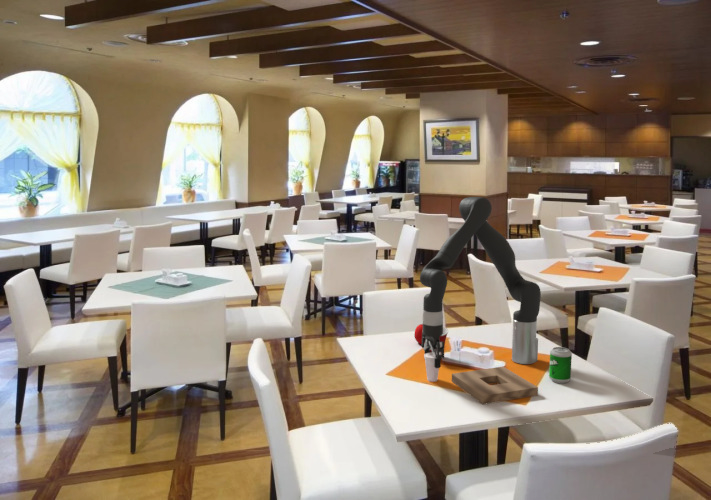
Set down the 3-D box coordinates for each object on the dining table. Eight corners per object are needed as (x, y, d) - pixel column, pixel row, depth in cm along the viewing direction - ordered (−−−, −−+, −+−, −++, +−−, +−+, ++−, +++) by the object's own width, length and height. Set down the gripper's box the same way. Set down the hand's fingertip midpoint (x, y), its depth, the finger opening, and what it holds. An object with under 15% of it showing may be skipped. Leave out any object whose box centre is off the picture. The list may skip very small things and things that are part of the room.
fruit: (437, 345, 264) (437, 323, 262) (418, 347, 262) (418, 325, 260) (430, 339, 272) (430, 318, 271) (411, 341, 270) (411, 319, 269)
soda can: (570, 378, 224) (571, 347, 222) (570, 385, 217) (572, 353, 215) (549, 375, 226) (550, 345, 224) (548, 382, 219) (550, 351, 217)
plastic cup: (418, 360, 245) (419, 332, 243) (425, 352, 255) (426, 325, 253) (444, 363, 241) (445, 334, 239) (450, 355, 251) (451, 327, 249)
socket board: (503, 373, 229) (503, 366, 228) (537, 395, 208) (538, 387, 208) (451, 381, 222) (451, 373, 221) (482, 404, 201) (482, 395, 201)
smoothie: (440, 383, 220) (440, 347, 218) (423, 382, 221) (423, 346, 219) (441, 377, 226) (441, 341, 224) (424, 376, 227) (424, 340, 225)
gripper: (451, 326, 215) (450, 369, 217) (433, 316, 228) (433, 356, 230) (432, 328, 212) (431, 371, 215) (415, 318, 226) (415, 359, 228)
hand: (432, 363), depth 223 cm, fingers open, 8 cm apart
